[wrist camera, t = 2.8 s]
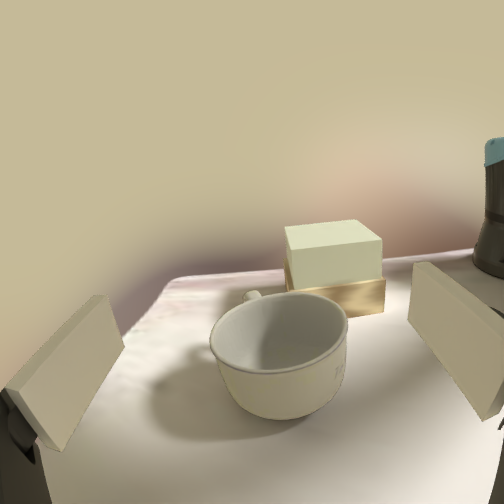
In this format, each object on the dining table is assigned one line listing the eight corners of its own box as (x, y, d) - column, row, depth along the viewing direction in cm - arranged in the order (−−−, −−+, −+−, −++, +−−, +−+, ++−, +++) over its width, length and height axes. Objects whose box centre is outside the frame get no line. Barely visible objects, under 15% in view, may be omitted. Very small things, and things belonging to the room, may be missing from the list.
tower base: (358, 278, 47) (357, 249, 45) (383, 314, 35) (385, 279, 34) (285, 287, 48) (283, 258, 46) (292, 328, 36) (289, 292, 35)
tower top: (356, 250, 45) (355, 219, 43) (381, 278, 34) (382, 239, 33) (287, 258, 46) (284, 226, 44) (294, 289, 35) (290, 249, 34)
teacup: (361, 418, 20) (372, 344, 18) (229, 447, 20) (206, 377, 17) (315, 333, 34) (312, 271, 31) (222, 350, 33) (209, 288, 30)
